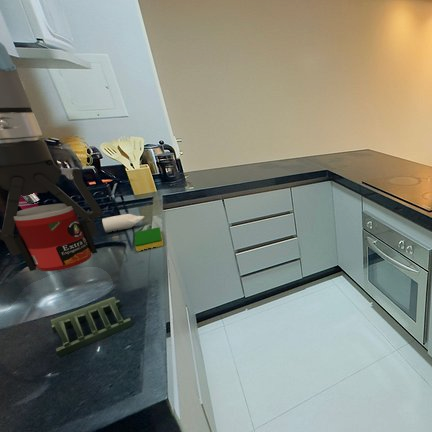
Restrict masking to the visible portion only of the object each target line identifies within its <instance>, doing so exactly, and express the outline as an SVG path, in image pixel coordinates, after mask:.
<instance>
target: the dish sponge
mask: <svg viewBox="0 0 432 432" xmlns="http://www.w3.org/2000/svg"><path fill="white" fill-rule="evenodd" d="M162 235H163V234H162V231H161V228H160V227H154V228H149V229H144V230H143V229H142V230H139V231H135V232H134V247H135V250H136V252H142V251H141V250H143V251H145V250H144V249H147V250H149V249H148V248H151V249H154V248H153V247H156V248H159V247H163V246H164V239H163V236H162Z"/></svg>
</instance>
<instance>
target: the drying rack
mask: <svg viewBox="0 0 432 432" xmlns="http://www.w3.org/2000/svg"><path fill="white" fill-rule="evenodd" d="M122 306H123V305H122V303H121V301H120V299H116V297H115V296H112V297H110V298H107V299H104V300H101V301H98V302H96V303H92V304H91V305H88V306H84V307H82V308H79V309H77V310H74V311H71V312H68V313H65V314H63V315H60V316H58V317H54V318H52V319H50V323H51V326H50V327H51V329H52V331H53V333H54V334H55V333H57V334H58V335H59V338H60V339H61V342H62V345H61V346H59V347H56V348H55V351H56V354H57V356H58V357H59V358H61V357H64V356H66V355H68V354H71V353H73V352H75V351H78V350H80V349H82V348H84V347H86V346H89V345H91V344H94V343H96V342H98V341H101V340H102V339H105V338H107V337H110V336H112V335H114V334H116V333H119V332H121V331H123V330H126V329H128V328H131V327H133V322H132V320H131V318H130V317H128V318H126V319H123V317H122V316H121V313H120V310H119V308H122ZM110 312H112V313H113V315H114V317H115V319H116V321H117V322H116V323H114V324H112V325H111V323H110V320H109V318H108V316H107V314H106V313H110ZM98 316H100V319H101V321H102V323H103V326H104V328H102V329H99V330H98V328H97V326H96V323H95V320H94V318H96V317H98ZM86 321H87V323H88V326H89V329H90V331H91V333H90V334H88V335H84V333H83V328H82V326H81V323H83V322H86ZM70 327H73V329H74V332H75V333H76V337H77V339H76V340H73V341H71V342H70V338H69V334H68V331H67V329H68V328H70Z"/></svg>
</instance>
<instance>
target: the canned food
mask: <svg viewBox="0 0 432 432" xmlns="http://www.w3.org/2000/svg"><path fill="white" fill-rule="evenodd" d="M14 220H15V228H16V230H17V233H18V234H20V236H21V238H22V240H23V242H24V244H25V246H26V248H27V250H28V252H29V254H30V256H31V258H32V260H33V262H34V264H35V266H36V269H38V270H39V271H41V272H56V271H62V270H65V269H70V268H73V267H76V266H79V265H81V264H83V263H85V262H87V261H88V260H90V258H91V257H92V252H91V249H90V247H89V245H88V242H87V240H86V237H85V235H84V232H83V230H82V227H81V225H80V222H79V221H80V220H79V216H78V215H77V214H76V213H75V212H74V210H73V208H72V206H69V207H68V206H67V205H65V204H64V203H51V204H45V205H38V206H37V207H33V208H28V209H24V210H22V209H21V210H18V211H17V216H14Z"/></svg>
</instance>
